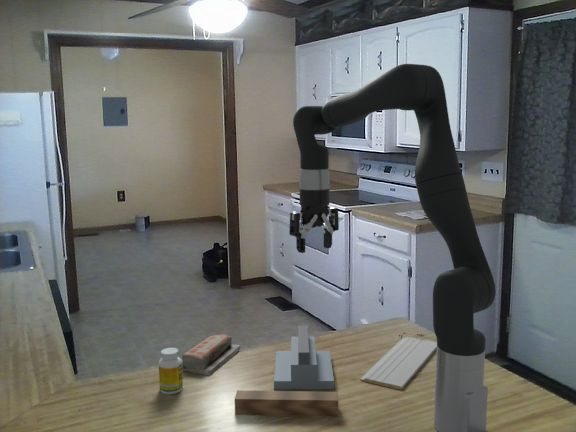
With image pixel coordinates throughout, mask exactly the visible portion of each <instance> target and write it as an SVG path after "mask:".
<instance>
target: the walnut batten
mask: <svg viewBox="0 0 576 432" xmlns="http://www.w3.org/2000/svg"><path fill="white" fill-rule="evenodd" d="M234 415H235V416H261V417H262V416H266V417H267V416H269V417H271V416H272V417H277V416H279V417H319V418H320V417H325V418H326V417H330V418H331V417H332V418H338V417H339V392H338V391H310V390H309V391H304V390H303V391H300V390H299V391H298V390H297V391H296V390H295V391H294V390H293V391H292V390H241V389H240V390H239V389H238V390H236V393H235V397H234Z"/></svg>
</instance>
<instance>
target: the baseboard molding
mask: <svg viewBox="0 0 576 432" xmlns="http://www.w3.org/2000/svg"><path fill="white" fill-rule="evenodd" d="M405 334H406V335H407V333H406V332H403V334H398V337H400V340H399V341H398V342H397V343H396V344H395V345H394V346H393V347H392V348H391V349H389V350H388V351H387V352H386V353H385V354H384V355H383V356H382V357H381V358H380V359H379V360H378V361H377V362H376V363H374V365H373V366H372V367H370V368H369V369H368V371H366V372H365V373H364V374H363V375H362V376H361V377H360V378H359V381H360V380H361V382H364V383H369V384H374V385H376V386H377V385H378V386H382V387H387V388H390V389H391V388H392V389H395V390H402V389H403V388H404V387H405V386H406V385H407V383H409V382H410V380H411V379H412V377H414V376H415V375H416V373H417V372H418V371H419V370H420V369H421V368H422V366H424V364H425V362H426V361H428V359H429V358H430V357H431V355H432V354H433V353H434V352H435V351H437V338H435V340H436V341H433V338H431V337H430V339H432V340H428V339H427V338H428V337H425V335H424V334H418V333H417V334H416V335H415V334H414V336H416V337H411V336H407V337H403V335H405ZM409 335H412V334H409ZM417 336H418V337H421V338H417ZM422 337H425V339H422Z"/></svg>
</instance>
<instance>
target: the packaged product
mask: <svg viewBox="0 0 576 432" xmlns="http://www.w3.org/2000/svg"><path fill="white" fill-rule="evenodd" d="M232 342H233V338H232V336H230V335H227V334H226V333H224V334H216V335H215V334H214V335H211V336H208V337H206V339H204V340H203V341H201V342H200V343H198V344H197V345H196V346H194V347H192V348H190V349H189V350H188V351H186V352H185V353H183V354H182V355H181V356H182V357H181V360H182V372H187V373H193V374H200V375H205V376H210V375H211V374H212V373H213V372H215V371H216V370H217V369H218V368H220V367H221V366H222V365H224V364H225V363H227V361H228V360H231V358H233V356H235V355H236V354H238V352H239V351H240V350H241V344H233V343H232Z"/></svg>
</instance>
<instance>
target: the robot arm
mask: <svg viewBox="0 0 576 432" xmlns="http://www.w3.org/2000/svg"><path fill="white" fill-rule="evenodd" d="M388 110H399V111H400V110H401V111H413V112H414V114H415V118H416V120H417V125H418V130H419V147H418V151H417V152H418V153H417V156H416V162H415V167H414V181H415V182H414V183H415V186H416V191H417V194H418V198H419V203H420V205H421V208H422V210H423V212H424V214H425V216H426V217H427V218H428V220H429V222H430V223H431V224H432V225H433V227H434V228H435V229H436V230H437V231H438V233H439V235H441V237H442V238H443V240H444V242H445V244H446V246H447V247H448V250H449V254H450V257H451V261H452V266H453V269H449V270H446V271H444V272H443V271H442V272H441V273H440V274H439V275H438V276H437V277H436V279H435V282H434V283H433V289H432V325H433V330H434V334H435V336H436V339H437V340H436V342H437V349H436V356H435V357H436V361H435V363H436V364H435V385H434V387H435V390H434V414H433V415H434V418H433V419H434V421H433V422H434V423H433V425H434V429H436V431H437V432H486V431H487V409H488V393H489V390H488V387H487V386H485V385H484V384H485V383H484V380H485V379H484V377H485V361H486V359H485V356H486V355H485V354H486V337H485V335H484V334H483V333H482V332H481V331H479V330H478V329H476V328H475V325H474V324H475V323H474V314H477V313H479V312H482V311H485V310H488V309H489V308H490V307H491V306H492V305H493V303H494V301H495V298H496V294H497V293H496V285H495V283H496V282H495V280H494V277H493V272H492V270H491V267H490V266H489V262H488V260H487V257H486V254H485V251H484V250H483V247H482V243H481V240H480V237H479V234H478V230H477V227H476V224H475V220H474V216H473V213H472V210H471V209H472V208H471V206H470V202H469V201H470V200H469V197H468V191H467V187H466V184H465V181H464V176H463V173H462V169H461V165H460V163H459V158H458V155H457V151H456V146H455V142H454V141H455V140H454V138H453V132H452V129H451V123H450V118H449V111H448V110H449V109H448V103H447V96H446V89H445V84H444V81H443V78H442V76H441V74H440V72H439V71H438V70H437V69H436V68H434V66H431V65H427V64H419V63H418V64H416V63H402V64H398V65H396V66H394V67H393V68H391V69H390V70H388V71H386V72H385V73H383V74H381V75H380V76H378V77H377V78H376V79H374V80H372V81H370V82H369V83H366V84H365V85H363V86H360V87H359V88H357V89H353V90H352V91H348V92H346V93H343V94H340V95H338V96H335V97H332V98H330V99H328V100H327V101H326V102H325V103H324V104H323V105H302V106H300V107H298V108H297V109H296V111H295V113H294V114H293V115H294V116H293V118H292V119H293V120H292V123H293V124H292V125H293V126H292V127H293V131H294V134H295V137H296V142H297V145H298V148H299V154H300V157H299V159H300V170H299V205H300V211H299V212H298V211H297V212H296V211H291V212H290V213H289V232H288V233H289V236H291V237H295V238H296V240H295V241H296V242H295V243H296V244H295V245H296V246H295V247H296V250H297V252H298V253H300V254H304V253H306V235H307V233H308V232H310V230H311V229H314V228H316V227H318V228H319V227H321V229H322V230H323V232H324V233H323V248H325V249H331V248H332V245H333V234H334V232H336V231H339V229H340V223H339V208H337V207H333V206H329V205H330V199H331V198H330V197H331V196H330V193H331V191H330V182H331V180H330V179H331V178H330V170H329V166H330V165H329V161H330V160H329V157H330V156H329V149H328V147H327V146H326V145H325V144H320V143H318V142H317V139H316V135H328V134H331V133H334V132H335V131H337V130H339V129H340V128H343V127H345V126H350V125H353V124H356V123H358V122H360V121H362V120H364V119H366V118H367V117H368V116H369V115H371V114H372V113H375V112H379V111H388Z"/></svg>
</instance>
